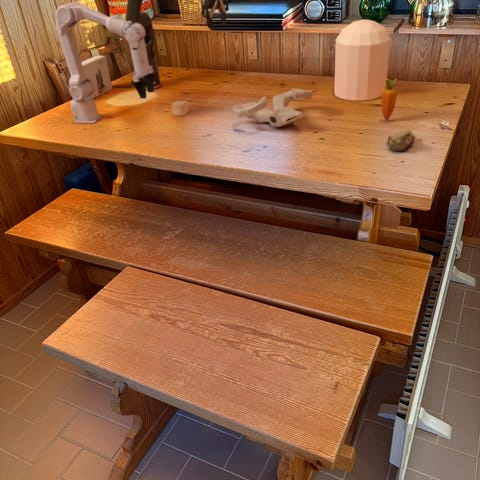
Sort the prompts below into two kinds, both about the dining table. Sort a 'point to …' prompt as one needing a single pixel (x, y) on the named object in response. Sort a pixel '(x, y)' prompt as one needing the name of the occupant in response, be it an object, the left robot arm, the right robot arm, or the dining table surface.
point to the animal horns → (280, 112)
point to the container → (361, 61)
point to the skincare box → (98, 74)
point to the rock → (400, 140)
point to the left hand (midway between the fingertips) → (147, 95)
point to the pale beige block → (179, 108)
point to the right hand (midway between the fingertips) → (217, 25)
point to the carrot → (388, 99)
